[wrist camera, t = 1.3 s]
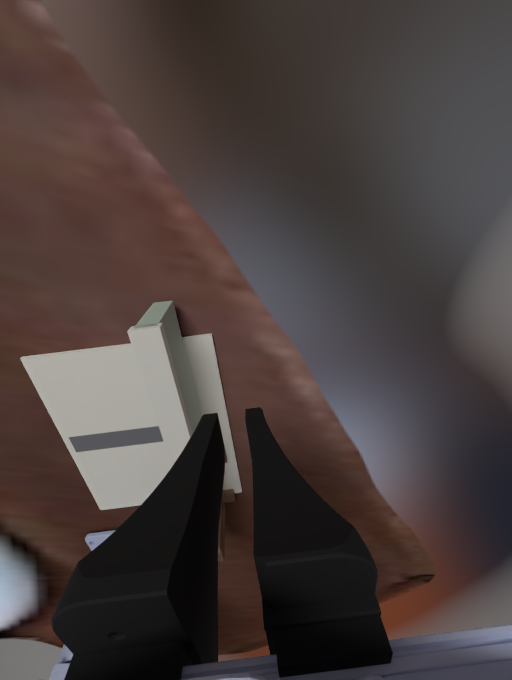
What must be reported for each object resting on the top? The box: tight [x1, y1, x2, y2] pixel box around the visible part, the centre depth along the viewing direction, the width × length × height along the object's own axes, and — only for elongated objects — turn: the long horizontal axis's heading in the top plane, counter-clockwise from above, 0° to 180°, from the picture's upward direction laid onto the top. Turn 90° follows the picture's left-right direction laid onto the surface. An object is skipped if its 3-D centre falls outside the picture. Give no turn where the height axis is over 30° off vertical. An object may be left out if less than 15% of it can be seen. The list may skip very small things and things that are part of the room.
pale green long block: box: [127, 300, 201, 466], centre depth 19 cm, size 12×2×4 cm, turn 6°
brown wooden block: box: [218, 451, 235, 561], centre depth 24 cm, size 9×4×4 cm, turn 6°
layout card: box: [20, 333, 242, 510], centre depth 23 cm, size 16×13×1 cm
